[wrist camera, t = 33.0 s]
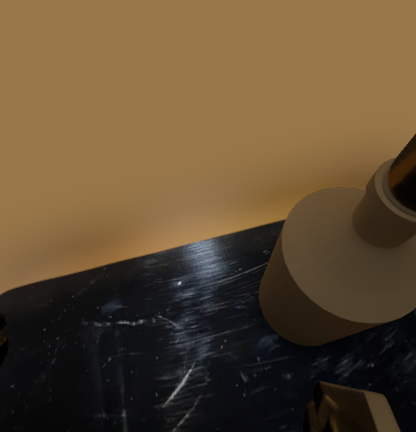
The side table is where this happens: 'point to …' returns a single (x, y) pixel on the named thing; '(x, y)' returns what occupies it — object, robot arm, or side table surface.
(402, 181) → the torch
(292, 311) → the bottle
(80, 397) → the side table surface
